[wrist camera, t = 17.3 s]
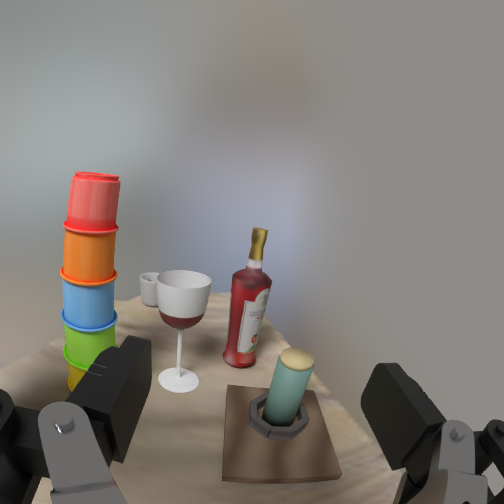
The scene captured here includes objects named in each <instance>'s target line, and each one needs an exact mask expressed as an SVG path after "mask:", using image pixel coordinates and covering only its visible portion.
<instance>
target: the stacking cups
mask: <svg viewBox="0 0 504 504" xmlns="http://www.w3.org/2000/svg"><path fill="white" fill-rule="evenodd" d="M118 179H119V176H116V175H109V174H101V173H91V172H75V176H73V177H72V180H71V187H70V194H69V202H68V211H67V221H65V222H64V223H63V227H64V228H65V241H64V266H63V267H62V268H61V270H60V275H61V277H62V278H63V304H64V308H63V310H62V311H61V319H62V321H63V322H64V329H65V339H66V344H65V346H64V349H63V354H64V357H65V359H66V360H67V361H68V368H69V373H70V375H69V377H68V386H69V389H70V390H71V392H72V391H73V390H74V388H75V387H76V385H77V384H78V382H79V381H80V380H81V378H82V377H83V375H84V374H85V373H86V372H87V371H88V368H89V367H90V366H91V364H93V362H94V360H95V359H96V358H97V356H98V355H99V354H100V352H102V351H104V350H106V349H107V348H109V347H111V346H114V347H117V345H116V344H115V323H116V322H117V313H116V311H115V310H114V280H115V279H116V277H117V272H116V271H115V269H114V268H113V267H114V250H115V237H116V231H118V228H119V227H118V226H117V225H116V214H117V206H118V197H119V190H120V181H118Z"/></svg>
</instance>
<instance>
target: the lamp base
mask: <svg viewBox="0 0 504 504" xmlns="http://www.w3.org/2000/svg"><path fill="white" fill-rule="evenodd" d="M268 393H269V389H268V388H256V387H245V386H236V385H228V387H227V397H226V413H225V431H224V449H223V469H222V481H228V482H242V483H302V482H316V481H326V480H335V479H338V478H339V477H340V476H341V475H342V473H341V470H340V467H339V464H338V461H337V458H336V455H335V451H334V448H333V445H332V442H331V439H330V436H329V433H328V430H327V427H326V424H325V422H324V419H323V416H322V413H321V410H320V407H319V404H318V401H317V398H316V395H315V392H314V391H312V390H305V392H304V395H303V397H302V400H301V402H300V405H299V408H298V410H297V413H296V415H295V417H294V420H293V422H292V425H291V426H290V427H275V426H271V425H269V424H268V423H266V422H265V421H264V420H262V419H261V416H262V413H263V410H264V406H265V403H266V400H267V396H268Z"/></svg>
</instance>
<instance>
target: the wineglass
mask: <svg viewBox="0 0 504 504" xmlns="http://www.w3.org/2000/svg"><path fill="white" fill-rule="evenodd" d="M210 288H211V279H210V278H209V277H208V276H206V275H204V274H201V273H197V272H193V271H184V270H174V271H166V272H163V273H160V274H159V275H158V276H157V288H156V290H157V301H158V307H159V312H160V316H161V318H162V319H163V321H164V322H165V323H166V324H168V325H169V326H171V327H173V328H177V329H178V348H177V368H169V369H166V370H164V371H162V372H161V373H160V375H159V377H158V379H159V383H160V384H161V386H162V387H164V388H165V389H167V390H169V391H171V392H176V393H186V392H190V391H192V390H194V389H195V388H196V387H197V386H198V383H199V380H198V377H197V376H196V375H195V374H194V373H193V372H191V371H190V370H187V369H183V368H181V356H182V336H183V329H185V328H189V327H192V326H194V325H196V324H197V323H198V322H199V321H200V320H201V319H202V317H203V315H204V313H205V310H206V306H207V303H208V298H209V293H210Z"/></svg>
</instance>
